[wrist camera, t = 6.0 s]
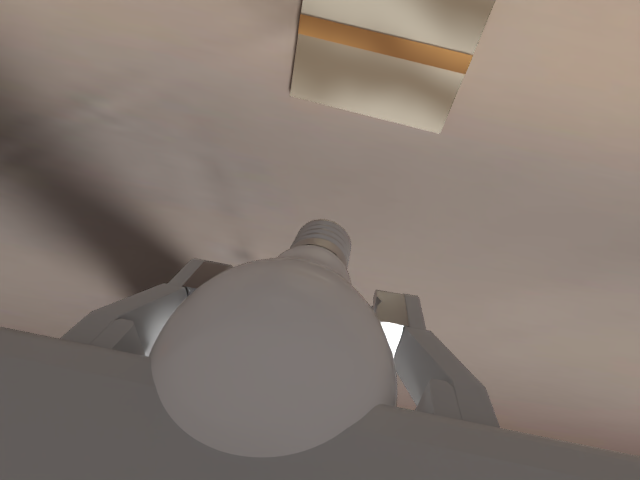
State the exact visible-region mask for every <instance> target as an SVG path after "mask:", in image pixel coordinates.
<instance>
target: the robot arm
mask: <svg viewBox="0 0 640 480" xmlns="http://www.w3.org/2000/svg"><path fill="white" fill-rule="evenodd" d="M232 267H233V266H232V265H228V264H223V263H218V262H213V261H206V260H201V259H196V258H194V259H191V260H190V261H189V262H188V263H187V264H186V265H185V266H184V267H183V268H182V269H181V270H180V271H179V272H178V273H177V274H176V275H175V276H174V277H173V279H172V280H171V281H170V282H169V283H168V284H165V283H163V284H160V285H158V286H155V287H153V288H150V289H147V290H145V291H142V292H140V293H137V294H135V295H132V296H130V297H127V298H125V299H122V300H119V301H117V302H114V303H112V304H109V305H107V306H104V307H102V308H99V309H97V310H94V311H92V312H90V313H89V314H88V315H87V316H86V317H84V318H83V319H82V320H81V321H80V322H78V323H77V324H76V325H75V326H74V327H73V328H71V329H70V330H69V331H68V332H67V333H66V334H64V335H63V336H62V337H61V338H60V339H59V338H54V337H49V336H44V335H39V334H34V333H30V332H25V331H20V330H15V329H10V328H5V327H0V480H640V456H636V455H631V454H626V453H621V452H616V451H611V450H606V449H601V448H596V447H591V446H587V445H582V444H577V443H572V442H567V441H562V440H557V439H552V438H547V437H542V436H537V435H532V434H527V433H522V432H518V431H513V430H508V429H503V428H500V426H499V424H498V421H497V418H496V415H495V412H494V410H493V407H492V404H491V401H490V399H489V396H488V393H487V390H486V388H485V387H484V386H483V385H482V384H481V383H480V381H479V380H478V379H477V378H476V377H475V376H474V375H473V374H472V373H471V372H470V371H469V370H468V369H467V368H466V367H465V366H464V365H463V364H462V363H461V362H460V361H459V360H458V359H457V358H456V357H455V356H454V355H453V354H452V352H451V351H450V350H449V349H448V348H447V347H446V346H445V345H444V344H443V343H442V342H441V341H440V340H439V339H438V338H437V337H436V336H435V335H434V334H433V333H432V332H431V331H429V330H426V326H425V322H424V317H423V313H422V308H421V304H420V299H419V297H418V296H415V295H408V294H399V293H393V292H387V291H381V290H376V291H375V293H374V297H373V306H372V307H371V308H372V309H373V311H374V312H375V314H376V315H377V317H378V319H379V321H380V322H381V324H382V326H383V328H384V331H385V333H386V335H387V338H388V340H389V343H390V346H391V350H392V353H393V357H394V362H395V368H396V372H397V374H398V375H399V377H400V379H401V380H402V382H403V384H404V385H405V387H406V389H407V390H408V392H409V394H410V395H411V397H412V399H413V400H414V402H415V404H416V405H417V407H416V409H415V411H414V410H409V409H404V408H399V407H394V406H390V405H385V404H379V405H376V406H375V407H373V408H372V409H371V410H370V411H369V412H368V413H367V414H366V415H365V416H364V417H363V418H361V419H360V420H359V421H357V422H356V423H354V424H353V425H351V426H350V427H348V428H347V429H345V430H344V431H343V432H341V433H340V434H338V435H337V436H335V437H334V438H332V439H330V440H328V441H327V442H325V443H323V444H320V445H318V446H316V447H314V448H311V449H308V450H305V451H302V452H299V453H295V454H290V455H285V456H278V457H246V456H239V455H234V454H229V453H226V452H222V451H219V450H216V449H214V448H211V447H209V446H207V445H205V444H203V443H201V442H199V441H197V440H196V439H194V438H193V437H191V436H190V435H188V434H187V433H186V432H185V431H183V430H182V429H181V428H180V427H179V426H178V425H177V424H176V423H175V422H174V421H173V419H172V418H171V417H170V416H169V414H168V413H167V411H166V410H165V408H164V406H163V404H162V402H161V400H160V398H159V395H158V393H157V389H156V386H155V384H154V380H153V377H152V371H151V358H150V357H148V356H149V354H150V351H151V349H152V347H153V345H154V342H155V340H156V339H157V337H158V335H159V333H160V331H161V330H162V328H163V326H164V325H165V323H166V322H167V320H168V319H169V317H170V316H171V315H172V313H173V312H174V311H175V310H176V308H177V307H178V306H179V305H180V304H181V303H182V302H183V301H184V300H185V299H186V298H187V297H188V296H189V295H190V294H191V293H192V292H193V291H194V290H196V289H197V288H198V287H199V286H201V285H202V284H203V283H205V282H206V281H208V280H209V279H211V278H212V277H214V276H216V275H218V274H219V273H221V272H223V271H225V270H228V269H230V268H232Z"/></svg>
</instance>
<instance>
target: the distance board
mask: <svg viewBox="0 0 640 480" xmlns="http://www.w3.org/2000/svg"><path fill="white" fill-rule="evenodd" d="M494 3H495V0H303V2H302V10H301V14H300V22H299V29H298V39H297V47H296V54H295V61H294V69H293V76H292V84H291V91H290V96H291V97H295V98H299V99H303V100H307V101H311V102H315V103H319V104H323V105H327V106H331V107H335V108H339V109H343V110H347V111H351V112H355V113H359V114H363V115H367V116H371V117H375V118H379V119H383V120H387V121H391V122H394V123H398V124H402V125H406V126H410V127H414V128H418V129H422V130H426V131H430V132H434V133H438V134H440V133H441V130H442V128H443V125H444V123H445V121H446V118H447V116H448V113H449V111H450V109H451V106H452V104H453V101H454V99H455V97H456V94H457V92H458V89H459V87H460V85H461V82H462V80H463V77H464V75H465V74H466V71H467V69H468V66H469V64H470V62H471V59H472V57H473V53H474V51H475V49H476V46H477V44H478V41H479V39H480V37H481V34H482V32H483V29H484V27H485V25H486V22H487V20H488V17H489V15H490V12H491V10H492V8H493V5H494Z"/></svg>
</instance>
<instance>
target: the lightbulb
mask: <svg viewBox="0 0 640 480" xmlns="http://www.w3.org/2000/svg"><path fill="white" fill-rule="evenodd" d="M350 251H351V241H350V237H349V235H348V233H347V232H346V231H345V229H344V228H343V227H341V226H340V225H339V224H337V223H335V222H333V221H330V220H325V219H318V220H313V221H310V222H308V223H306V224H305V225H304V226H303V227H302V228H301V229H300V231H299V232H298V234H297V236H296V238H295V240H294V242H293V244H292V245H291V247H290V249H288V250H286V251H285V252H283V253H282V254H280V255H279V256H278V257H277V258H269V259H261V260H256V261H251V262H247V263H244V264H241V265H238V266H235V267H232V268H230V269H228V270H225V271H223V272H221V273H219V274H218V275H216V276H214V277H212V278H211V279H209V280H208V281H206V282H205V283H203V284H202V285H201V286H199V287H198V288H197V289H196V290H194V291H193V292H192V293H191V294H190V295H189V296H188V297H187V298H186V299H185V300H184V301H183V302H182V303H181V304H180V305H179V306H178V307H177V308H176V310H175V311H174V312H173V313H172V315H171V316H170V317H169V319H168V320H167V322H166V323H165V325H164V326H163V328H162V330H161V331H160V333H159V335H158V337H157V339H156V340H155V342H154V345H153V347H152V349H151V351H150V354H149V356H148V357H150V358H151V371H152V377H153V380H154V384H155V386H156V389H157V393H158V395H159V398H160V400H161V402H162V404H163V406H164V408H165V410H166V411H167V413H168V414H169V416H170V417H171V418H172V419H173V421H174V422H175V423H176V424H177V425H178V426H179V427H180V428H181V429H182V430H183V431H185V432H186V433H187V434H188V435H190V436H191V437H193V438H194V439H196V440H197V441H199V442H201V443H203V444H205V445H207V446H209V447H211V448H214V449H216V450H219V451H222V452H226V453H229V454H234V455H239V456H246V457H278V456H285V455H290V454H295V453H299V452H302V451H305V450H308V449H311V448H314V447H316V446H318V445H320V444H323V443H325V442H327V441H328V440H330V439H332V438H334V437H335V436H337V435H338V434H340V433H341V432H343V431H344V430H345V429H347V428H348V427H350V426H351V425H353V424H354V423H356V422H357V421H359V420H360V419H361V418H363V417H364V416H365V415H366V414H367V413H368V412H369V411H370V410H371V409H372V408H373V407H375V406H376V405H379V404H385V405H390V406H394V407H397V395H398V392H397V375H396V368H395V362H394V357H393V353H392V350H391V346H390V343H389V340H388V338H387V335H386V333H385V331H384V328H383V326H382V324H381V322H380V321H379V319H378V317H377V315H376V314H375V312H374V311H373V309H372V308H371V306H370V305H369V304H368V302H367V301H366V300H365V299H364V297H363V296H362V295H361V294H360V293H359V292H358V291H357V290H356V289H355V288H354V287H353V286H352V284H351V279H350V276H349V273H348V270H347V267H348V262H349V256H350Z"/></svg>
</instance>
